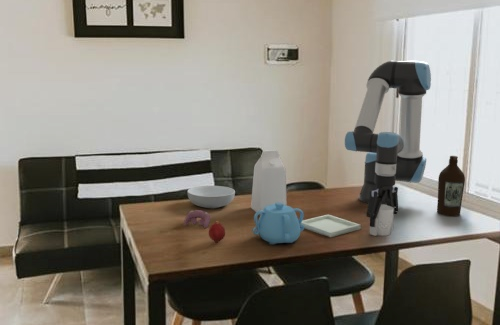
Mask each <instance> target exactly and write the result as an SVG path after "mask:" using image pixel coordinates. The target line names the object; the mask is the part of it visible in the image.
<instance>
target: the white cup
mask: <svg viewBox="0 0 500 325" xmlns="http://www.w3.org/2000/svg"><path fill="white" fill-rule="evenodd" d="M394 208H395V207H394ZM394 208H393V207H391V206H387V205H386V204H381V206H380V209H379V212H378V214H377V217H376V218H377V219H378V223H377V236H382V237H385V236H390V235H391V232H392V231H391V226H392V220H393V211H394Z"/></svg>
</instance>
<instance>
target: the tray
mask: <svg viewBox="0 0 500 325" xmlns="http://www.w3.org/2000/svg"><path fill="white" fill-rule="evenodd" d="M301 224H303V225H304V230H305V229H306V230H308V231H311V232H314V233H317V234H320V235H321V236H325V237H328V238H334V237H337V236H340V235H344V234H348V233H352V232H356V231H359V230H361V227H362V224H360V223H356V222H353V221H350V220H347V219H344V218H340V217H337V216H335V215H331V214H328V213H327V214H325V215H321V216H320V215H319V216H316V217H312V218H308V219H303V220H302V223H301ZM300 228H302V226H300Z"/></svg>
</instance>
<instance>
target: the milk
mask: <svg viewBox="0 0 500 325" xmlns="http://www.w3.org/2000/svg"><path fill="white" fill-rule="evenodd" d="M278 151H279V150H277V149H272V150H271V149H268V150H262V152H261V155H260V157H259V158H258V159H257V161H256V163H255V164H254V168H253V178H252V190H251V204H250V209H252V210H253V211H254V212H255V213H256V212H258V211H260V210H263V209H264V208H265V207H266V206H269V205H271V204H274V205H275V203H278V202H280V203H284V205H286V206H287V170H286V166H285V164H284V163H283V161H282V159H281V157H280V154H279V152H278ZM260 215H261V214H259V215H258V216H260Z"/></svg>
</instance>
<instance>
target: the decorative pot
mask: <svg viewBox="0 0 500 325" xmlns="http://www.w3.org/2000/svg"><path fill="white" fill-rule="evenodd" d="M296 212H299V213H300V216H299V218H298V216H297V214H296ZM259 214H261V215H259ZM258 216H259V217H258ZM304 216H305V215H304V211H303V210H302V209H300V208H298V207H296V208H295V207H294V208H293V207H291V206H289V205H287V204H286V205H284V203H280V202H278V203H275V205H274V204H271V205H269V206H266V207H265V208H264V209H263V210H260V211H258V212H256V211H255V213H254V215H253V221H254V224H255V226H254V227H253V228H252V234H253V235H257V236H258V235H259V236H260V238H261V239H262V240H264V241H266V242H268V244H269V245H277V244H283V243H286V244H293V243H294V242H296V241H297V240H298V238H299V237H300V235H301V232H303V231H304V230H305V228H304V225H303V224H301V223H302V221H303V220H304ZM300 226H302V227H300Z"/></svg>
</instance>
